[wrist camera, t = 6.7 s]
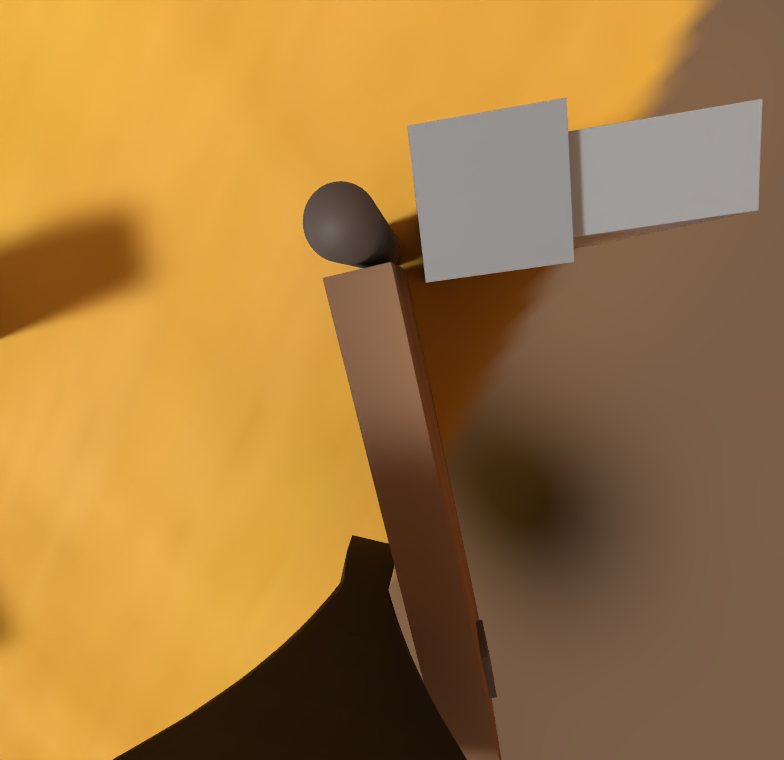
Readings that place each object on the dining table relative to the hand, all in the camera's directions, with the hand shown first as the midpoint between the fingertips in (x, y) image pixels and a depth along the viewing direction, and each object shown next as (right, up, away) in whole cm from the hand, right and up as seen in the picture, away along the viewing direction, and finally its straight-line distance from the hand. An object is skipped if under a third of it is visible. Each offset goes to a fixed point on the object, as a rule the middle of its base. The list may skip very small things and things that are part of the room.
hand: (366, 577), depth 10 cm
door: (+1, +3, +1) cm, 4 cm away
